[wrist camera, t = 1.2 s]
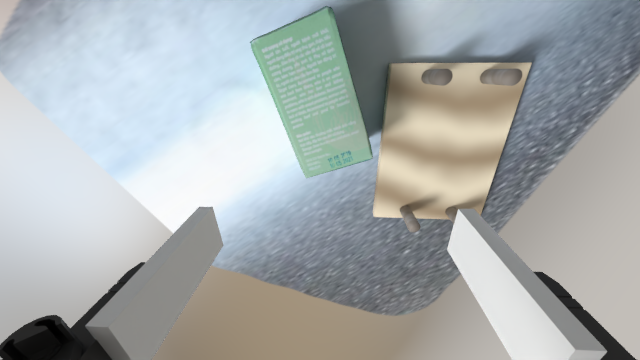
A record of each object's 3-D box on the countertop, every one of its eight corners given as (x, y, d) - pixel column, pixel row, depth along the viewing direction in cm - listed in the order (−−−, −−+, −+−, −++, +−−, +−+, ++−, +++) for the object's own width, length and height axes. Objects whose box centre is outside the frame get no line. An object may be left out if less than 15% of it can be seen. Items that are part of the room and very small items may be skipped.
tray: (388, 63, 26) (401, 61, 21) (523, 63, 25) (567, 60, 20) (372, 212, 33) (379, 235, 29) (474, 215, 33) (497, 239, 28)
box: (331, 18, 24) (330, -2, 17) (366, 139, 29) (376, 160, 22) (268, 47, 26) (244, 38, 19) (312, 157, 31) (305, 182, 24)
